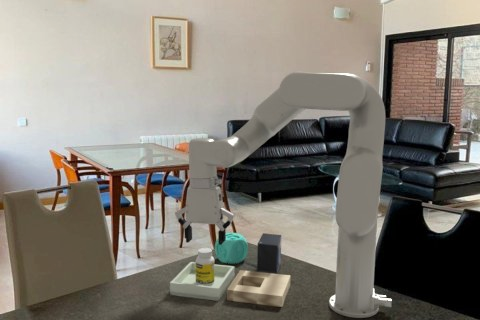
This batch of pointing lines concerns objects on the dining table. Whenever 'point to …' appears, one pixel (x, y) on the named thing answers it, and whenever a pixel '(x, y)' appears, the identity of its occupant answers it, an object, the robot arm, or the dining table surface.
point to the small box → (269, 253)
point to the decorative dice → (232, 249)
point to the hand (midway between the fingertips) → (205, 242)
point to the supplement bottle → (205, 267)
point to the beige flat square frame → (259, 288)
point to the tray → (188, 287)
